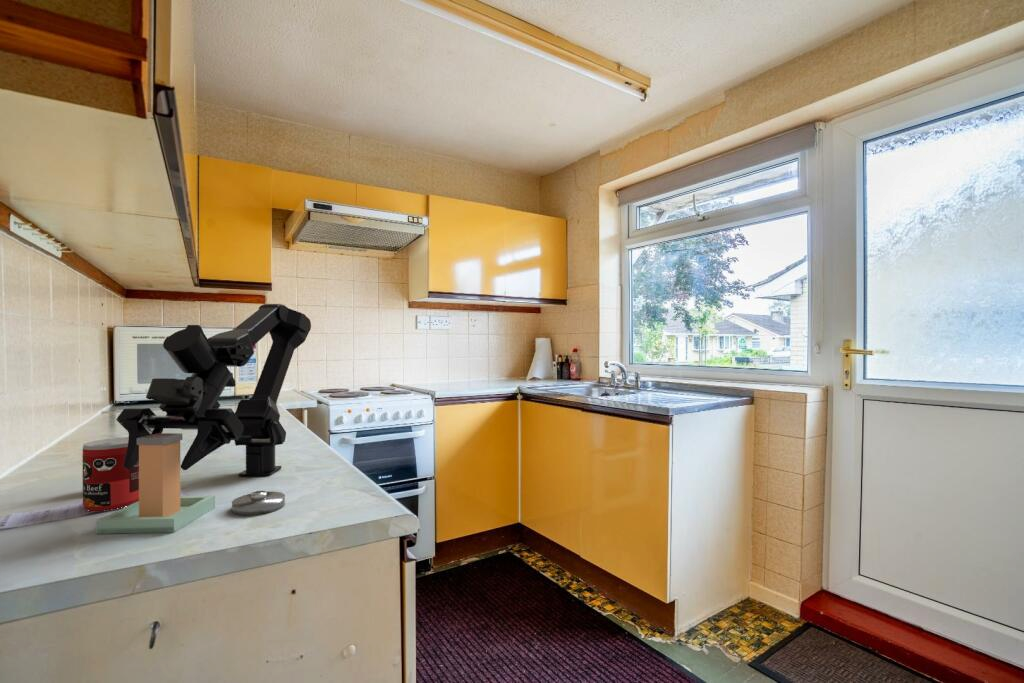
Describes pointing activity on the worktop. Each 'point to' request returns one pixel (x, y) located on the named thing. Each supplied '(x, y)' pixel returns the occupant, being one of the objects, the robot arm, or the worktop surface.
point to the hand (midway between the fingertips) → (154, 468)
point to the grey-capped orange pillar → (159, 474)
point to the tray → (132, 523)
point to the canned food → (108, 475)
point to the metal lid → (258, 503)
